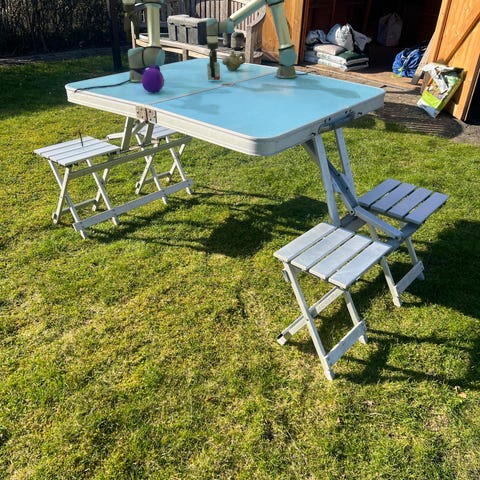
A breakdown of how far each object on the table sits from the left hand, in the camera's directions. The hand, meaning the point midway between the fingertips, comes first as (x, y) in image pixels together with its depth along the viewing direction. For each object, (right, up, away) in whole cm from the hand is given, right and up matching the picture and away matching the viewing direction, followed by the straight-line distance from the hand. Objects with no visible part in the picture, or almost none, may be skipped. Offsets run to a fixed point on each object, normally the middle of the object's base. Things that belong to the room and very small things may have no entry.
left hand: (133, 40), depth 290 cm
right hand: (+50, -8, +42) cm, 65 cm away
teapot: (+64, +11, +81) cm, 104 cm away
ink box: (+50, -10, +43) cm, 66 cm away
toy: (+8, -27, +18) cm, 33 cm away
